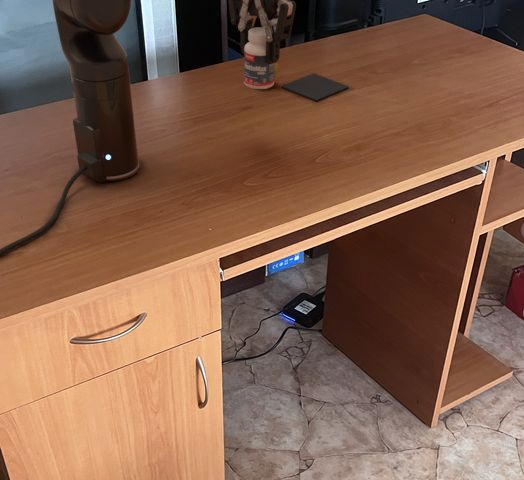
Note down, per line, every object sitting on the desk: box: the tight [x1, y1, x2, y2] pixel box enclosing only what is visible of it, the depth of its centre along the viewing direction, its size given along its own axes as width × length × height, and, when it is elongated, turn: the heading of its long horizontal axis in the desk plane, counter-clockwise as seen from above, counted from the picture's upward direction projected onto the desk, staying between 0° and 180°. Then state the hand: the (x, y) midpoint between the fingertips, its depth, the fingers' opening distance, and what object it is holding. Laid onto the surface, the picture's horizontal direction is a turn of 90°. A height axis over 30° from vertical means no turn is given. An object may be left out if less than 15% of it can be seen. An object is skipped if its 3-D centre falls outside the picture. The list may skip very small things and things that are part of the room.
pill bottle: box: [243, 26, 276, 90], centre depth 132 cm, size 5×5×9 cm
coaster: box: [280, 73, 350, 103], centre depth 164 cm, size 10×10×1 cm
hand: (259, 57), depth 132 cm, fingers closed on pill bottle, 5 cm apart
